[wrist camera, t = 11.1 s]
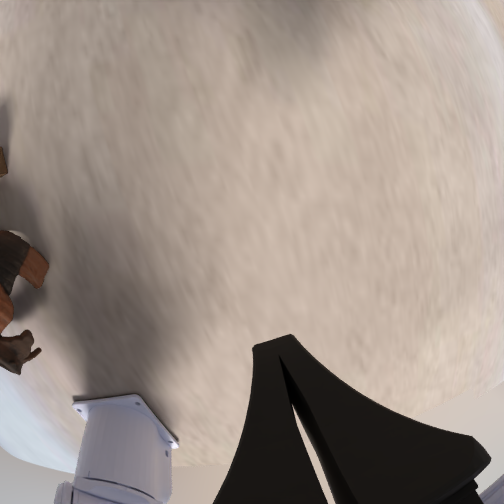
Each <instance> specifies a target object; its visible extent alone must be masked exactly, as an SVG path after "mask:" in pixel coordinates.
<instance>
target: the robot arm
mask: <svg viewBox="0 0 504 504" xmlns="http://www.w3.org/2000/svg"><path fill="white" fill-rule="evenodd" d="M252 351H253V377H252V386H251V394H250V400H249V405H248V410H247V415H246V420H245V424H244V428H243V431H242V435H241V438H240V441H239V445H238V448H237V451H236V453H235V456H234V459H233V461H232V464H231V466H230V469H229V471H228V474H227V476H226V478H225V480H224V482H223V484H222V486H221V488H220V490H219V492H218V494H217V496H216V498H215V500H214V502H213V504H328V502H327V500H326V497H325V495H324V493H323V490H322V488H321V485H320V483H319V480H318V478H317V475H316V473H315V470H314V468H313V465H312V463H311V460H310V458H309V455H308V453H307V450H306V447H305V445H304V442H303V440H302V437H301V434H300V432H299V429H298V426H297V423H296V419H295V415H294V411H293V407H294V409H295V411H296V413H297V415H298V417H299V419H300V421H301V423H302V425H303V428H304V430H305V432H306V434H307V436H308V438H309V440H310V442H311V444H312V446H313V448H314V450H315V451H316V454H317V456H318V458H319V461H320V463H321V466H322V469H323V471H324V474H325V476H326V479H327V482H328V485H329V487H330V490H331V493H332V495H333V498H334V501H335V503H336V504H504V474H503V475H502V476H501V477H500V478H499V479H498V480H496V481H495V482H494V483H493V484H492V485H491V486H489V487H488V488H487V489H486V490H485V491H483V492H482V493H481V494H480V495H478V494H477V492H476V491H475V490H476V489H477V488H478V485H477V483H476V482H475V480H474V478H475V477H476V476H478V475H479V474H480V473H481V472H482V471H483V470H484V469H485V468H486V467H487V466H488V464H489V463H490V461H491V457H490V456H489V454H488V453H487V451H486V450H485V449H484V447H483V446H482V445H481V444H480V443H479V442H478V441H476V440H475V439H474V438H473V437H472V436H469V435H464V434H459V433H454V432H450V431H446V430H443V429H439V428H436V427H432V426H429V425H426V424H423V423H420V422H418V421H415V420H413V419H411V418H408V417H406V416H403V415H401V414H399V413H396V412H394V411H392V410H390V409H388V408H386V407H384V406H382V405H380V404H378V403H376V402H375V401H373V400H371V399H369V398H368V397H366V396H364V395H363V394H361V393H359V392H358V391H356V390H355V389H353V388H352V387H350V386H349V385H348V384H346V383H345V382H343V381H342V380H341V379H339V378H338V377H337V376H335V375H334V374H333V373H332V372H330V371H329V370H328V369H327V368H326V367H324V366H323V365H322V364H321V363H320V362H319V361H318V360H316V359H315V358H314V357H313V356H312V355H311V354H310V353H309V352H308V351H307V350H306V349H305V348H304V347H303V346H302V345H301V344H300V342H299V341H298V340H297V339H296V338H295V336H294V335H292V334H288V335H285V336H282V337H279V338H276V339H273V340H270V341H266V342H263V343H260V344H256V345H254V347H253V348H252ZM292 405H293V407H292ZM72 406H73V408H74V409H75V410H76V411H77V412H78V413H79V414H80V415H81V416H82V418H83V419H84V420H85V421H86V422H87V423H86V427H85V431H84V435H83V439H82V444H81V448H80V452H79V457H78V462H77V467H76V472H75V477H74V481H73V483H70V482H68V481H64V483H61V484H58V487H57V491H56V495H55V500H54V504H167V502H168V501H169V499H170V496H171V494H172V464H171V449H174V448H178V447H179V443H178V442H177V441H176V440H175V439H174V437H173V436H172V435H171V434H170V433H169V432H168V431H167V429H166V428H165V427H164V426H163V425H162V423H161V422H160V421H159V420H158V419H157V417H156V416H155V415H154V414H153V412H152V411H151V410H150V409H149V407H148V406H147V405H146V403H145V402H144V401H143V400H142V398H141V397H140V396H139V395H136V394H132V395H125V396H119V397H112V398H104V399H96V400H87V401H77V402H73V404H72Z"/></svg>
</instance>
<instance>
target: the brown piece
mask: <svg viewBox="0 0 504 504" xmlns="http://www.w3.org/2000/svg"><path fill="white" fill-rule="evenodd" d="M48 269H49V265H48V263H47V262H46V261H45V259H44V258H43V257H42V256H41V255H40V254H39V252H37V251H36V250H35V249H34V248H33V247H31V246H30V245H29V244H28V243H27V242H25V241H24V240H22V239H21V237H19V236H17V235H15V234H14V233H12V232H9V231H3V230H1V231H0V366H1V367H3V368H5V369H6V370H8V371H10V372H12V373H16V374H18V375H20V374H21V368H22V366H23V364H24V363H26V362H27V361H30V360H31V359H33V358H35V357H36V356H37V355H38V354H39V353H40V352H41V348H36V349H35V350H34V351H33V352H31V346H32V345H33V344H34V338H33V336H32V333H31V332H30V331H29V330H25V331H23V332H22V333H21V335H16V336H13V337H2V336H1V333H2V331H3V330H4V329H5V327H6V326H7V325H8V324H9V323H10V322H11V321H12V319H13V313H14V307H13V304H12V301H11V299H10V298H9V295H10V294H11V291H12V287H13V284H14V281H15V278H16V276H17V275H18V274H19V275H20V276H21V277H23V278H25V279H26V280H27V281H28V282H29V283H31V284H32V285H33V286H34V288H36V289H38V288H40V287H41V286H42V284H43V281H44V277H45V275H46V273H47V271H48ZM30 352H31V353H30Z"/></svg>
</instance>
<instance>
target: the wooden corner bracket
mask: <svg viewBox="0 0 504 504" xmlns="http://www.w3.org/2000/svg"><path fill="white" fill-rule="evenodd" d="M7 173H8V171H7V167H6V163H5V159H4V155H3V151H2V147H0V177H2V176H3V175H5V174H7Z"/></svg>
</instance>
